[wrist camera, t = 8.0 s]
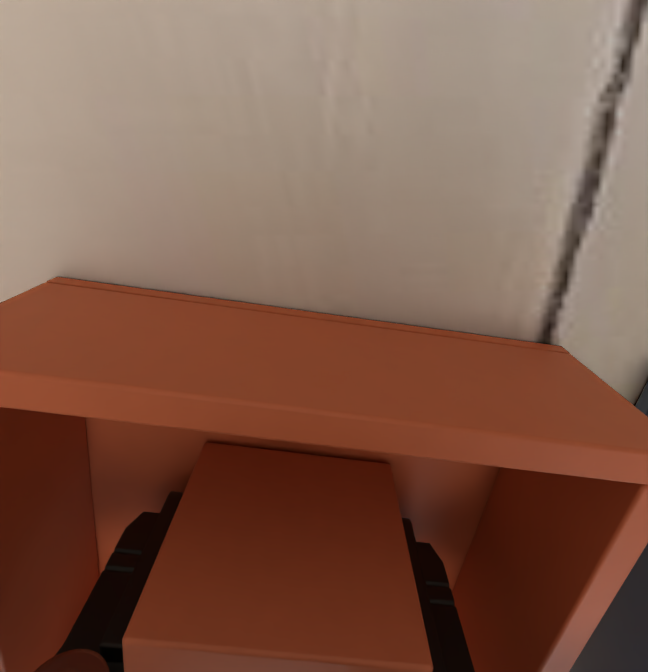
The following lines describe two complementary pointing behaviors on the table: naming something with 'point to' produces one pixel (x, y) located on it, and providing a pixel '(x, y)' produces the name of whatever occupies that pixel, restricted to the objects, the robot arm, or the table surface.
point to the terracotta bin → (314, 452)
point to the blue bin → (622, 618)
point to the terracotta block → (281, 571)
